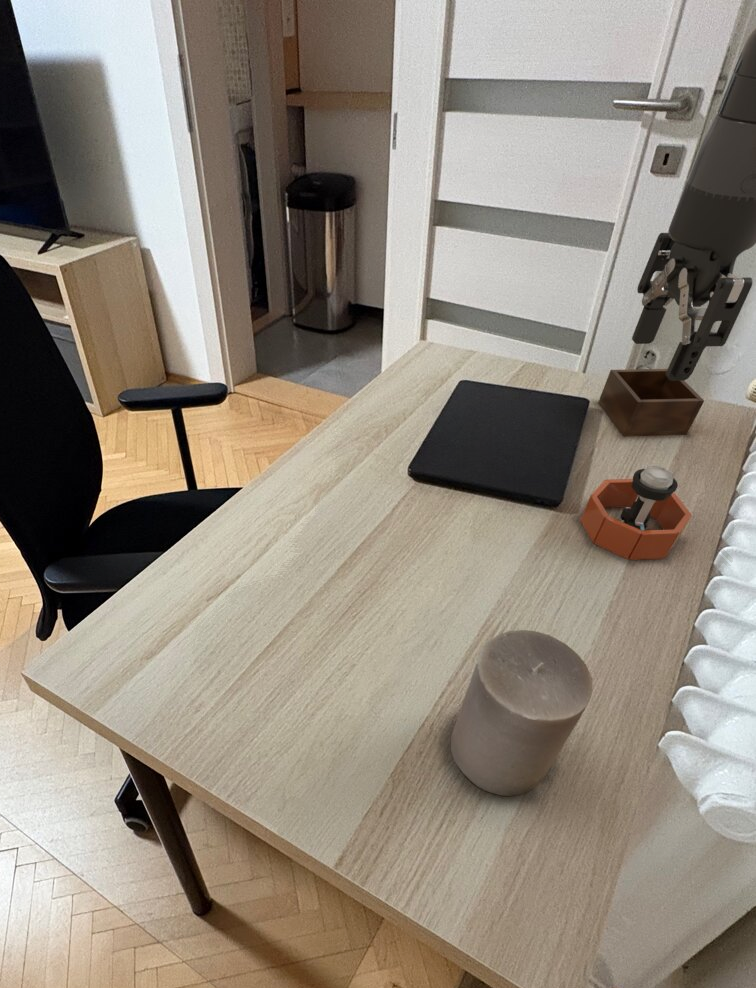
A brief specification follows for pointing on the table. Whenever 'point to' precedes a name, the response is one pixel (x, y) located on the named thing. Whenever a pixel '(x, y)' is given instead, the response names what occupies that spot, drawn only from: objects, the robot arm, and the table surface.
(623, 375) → the box
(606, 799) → the table surface
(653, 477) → the push button
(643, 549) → the bowl
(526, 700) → the pillar candle
